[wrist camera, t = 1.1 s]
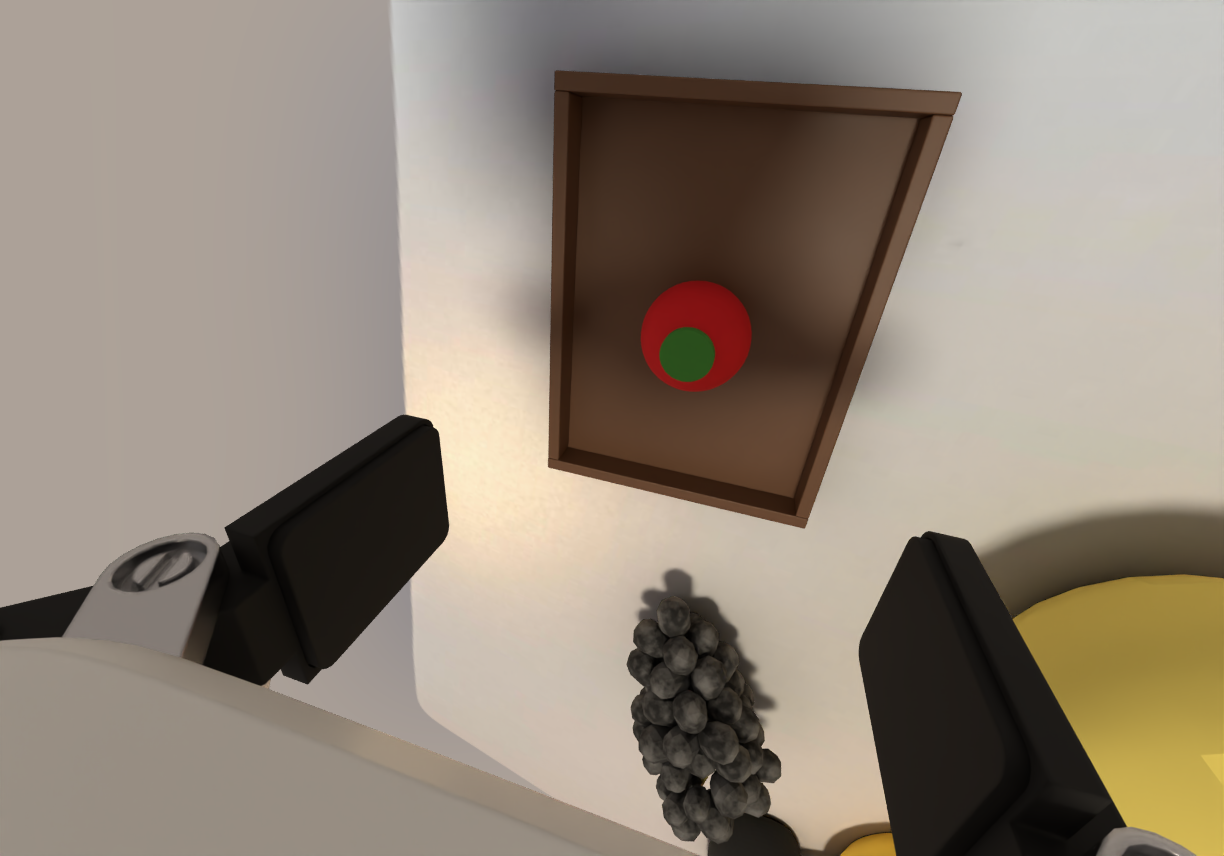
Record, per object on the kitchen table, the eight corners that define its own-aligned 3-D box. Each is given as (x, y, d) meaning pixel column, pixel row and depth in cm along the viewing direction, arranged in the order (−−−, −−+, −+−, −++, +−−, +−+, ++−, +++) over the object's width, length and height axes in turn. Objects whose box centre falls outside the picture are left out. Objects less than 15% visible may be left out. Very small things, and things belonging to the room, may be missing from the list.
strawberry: (659, 264, 21) (633, 286, 17) (764, 279, 20) (762, 306, 16) (647, 360, 23) (622, 399, 19) (741, 377, 22) (735, 421, 18)
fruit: (598, 704, 22) (661, 883, 28) (779, 669, 21) (806, 859, 27) (598, 577, 30) (647, 735, 36) (730, 549, 29) (758, 715, 35)
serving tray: (573, 78, 19) (554, 70, 17) (943, 99, 16) (963, 91, 14) (561, 449, 27) (547, 467, 26) (802, 504, 25) (805, 529, 23)
